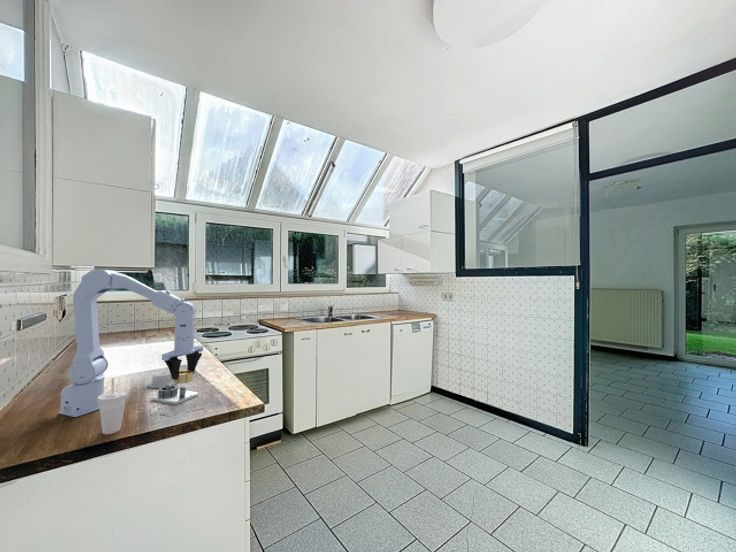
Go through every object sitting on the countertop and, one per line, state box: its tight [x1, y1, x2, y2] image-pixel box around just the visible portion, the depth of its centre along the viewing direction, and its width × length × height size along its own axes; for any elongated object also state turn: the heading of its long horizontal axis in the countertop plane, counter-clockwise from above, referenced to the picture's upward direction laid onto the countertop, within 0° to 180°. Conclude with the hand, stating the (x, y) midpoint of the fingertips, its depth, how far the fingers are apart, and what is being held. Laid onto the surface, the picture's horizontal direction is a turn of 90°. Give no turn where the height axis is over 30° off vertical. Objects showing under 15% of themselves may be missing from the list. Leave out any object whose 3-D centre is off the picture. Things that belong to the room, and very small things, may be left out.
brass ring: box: [173, 369, 194, 385], centre depth 104 cm, size 6×6×3 cm
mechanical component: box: [147, 370, 177, 389], centre depth 119 cm, size 10×4×10 cm
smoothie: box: [97, 377, 129, 435], centre depth 82 cm, size 6×6×14 cm
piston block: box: [150, 384, 199, 406], centre depth 105 cm, size 9×12×4 cm
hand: (183, 376), depth 105 cm, fingers closed on brass ring, 6 cm apart
